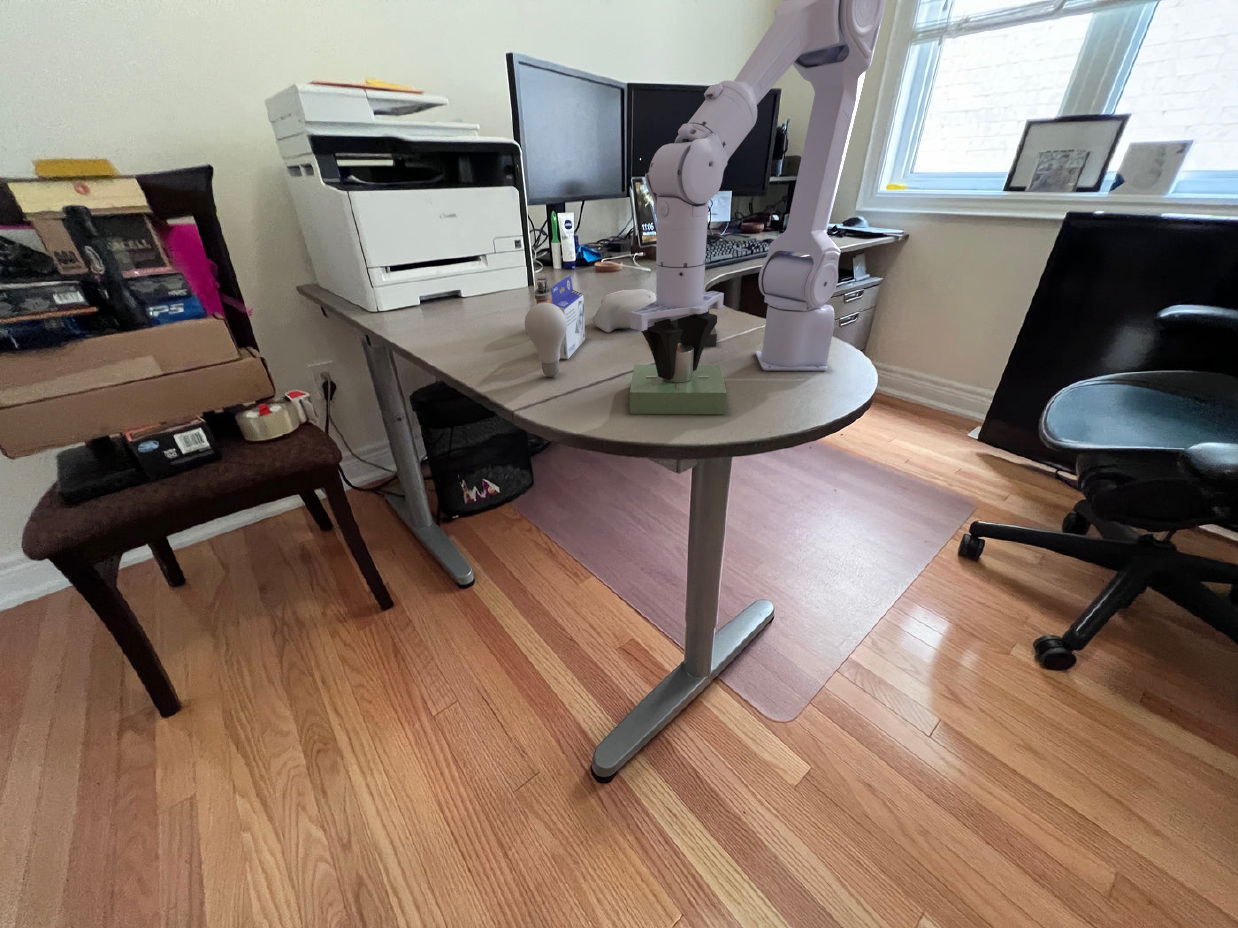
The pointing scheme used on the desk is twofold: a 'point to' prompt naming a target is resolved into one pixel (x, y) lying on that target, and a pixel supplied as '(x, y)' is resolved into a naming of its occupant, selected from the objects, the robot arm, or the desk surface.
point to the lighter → (543, 290)
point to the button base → (711, 339)
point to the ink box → (570, 315)
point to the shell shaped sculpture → (620, 308)
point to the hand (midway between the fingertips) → (677, 373)
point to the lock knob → (683, 363)
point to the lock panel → (678, 392)
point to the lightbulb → (547, 334)
